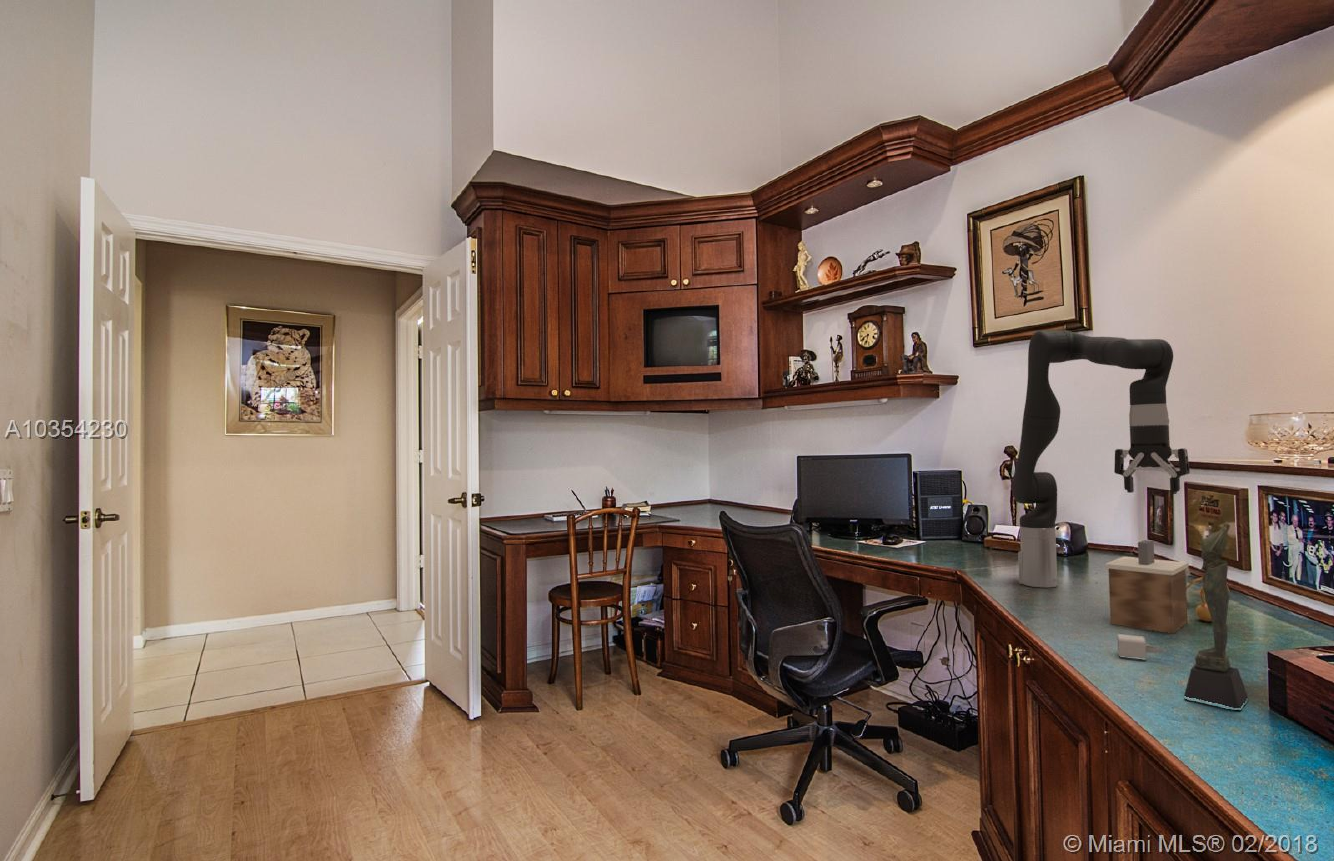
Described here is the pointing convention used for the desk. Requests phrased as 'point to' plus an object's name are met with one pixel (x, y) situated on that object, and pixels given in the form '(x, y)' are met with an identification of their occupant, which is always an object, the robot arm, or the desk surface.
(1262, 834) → the desk surface
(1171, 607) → the box
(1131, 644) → the usb wall charger
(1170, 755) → the desk surface
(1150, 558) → the lid
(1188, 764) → the desk surface
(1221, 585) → the statue
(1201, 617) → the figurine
